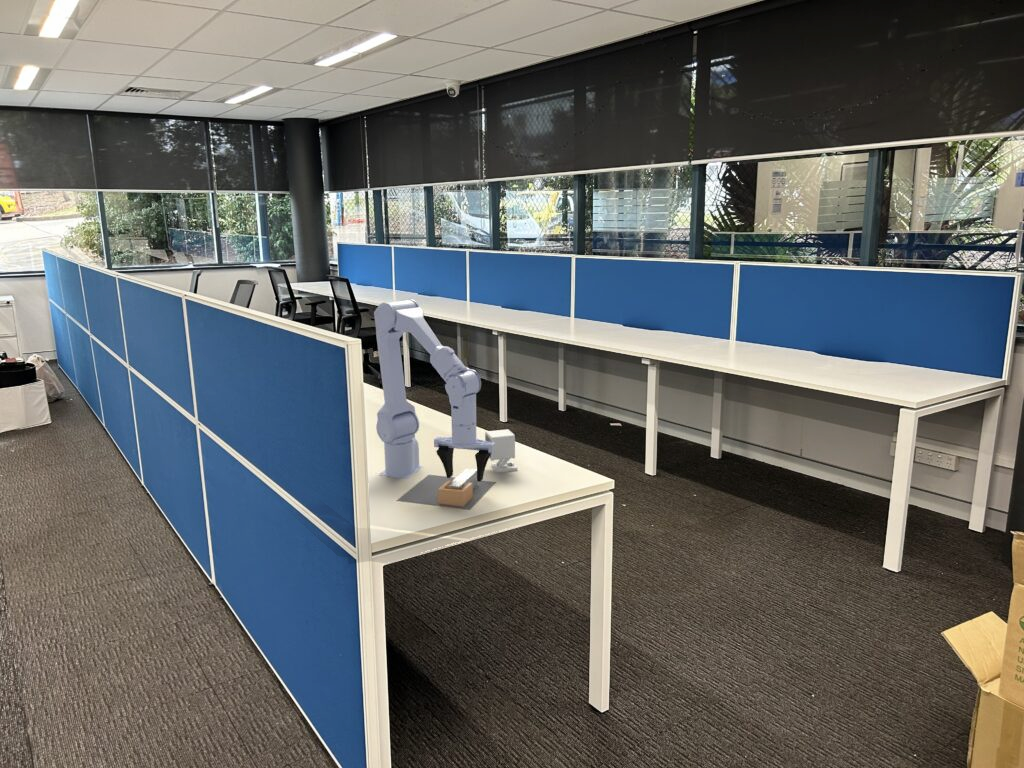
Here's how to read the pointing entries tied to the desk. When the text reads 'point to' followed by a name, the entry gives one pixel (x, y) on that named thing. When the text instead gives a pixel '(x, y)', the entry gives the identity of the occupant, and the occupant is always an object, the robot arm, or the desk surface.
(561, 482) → the desk surface
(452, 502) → the tan notched holder
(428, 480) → the mat
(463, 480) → the aluminium rail
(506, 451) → the security camera
